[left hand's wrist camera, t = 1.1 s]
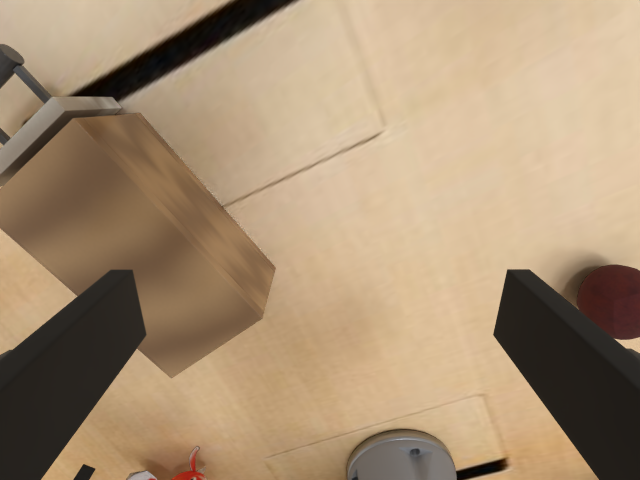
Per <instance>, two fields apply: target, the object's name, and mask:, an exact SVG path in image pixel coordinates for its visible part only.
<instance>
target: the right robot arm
mask: <svg viewBox="0 0 640 480" xmlns="http://www.w3.org/2000/svg"><path fill="white" fill-rule="evenodd" d="M94 471H95V468H92V467H90V466H87V465H84V464H83V466H82V467H81V469H80V470H79V472H78V473H77V475H76V477H75V478H74V480H89V479H90V477H91V476H92V474H93V472H94ZM347 476H348V480H457V478H456V471H455V465H454V463H453V460H452V457H451V455H450V452H449V450H448V449H447V447H446V446H445V445H444V444H443V443H442V442H441V441H440V440H438V439H437V438H435V437H433V436H431V435H429V434H426V433H423V432H419V431H413V430H395V431H389V432H384V433H381V434H378V435H375V436H373V437H371V438H369V439H367V440H366V441H364V442H363V443H362V444H360V445H359V446H358V447H357V448H356V449H355V450H354V452H353V453H352V454H351V456H350V458H349V461H348V465H347Z"/></svg>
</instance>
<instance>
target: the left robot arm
mask: <svg viewBox="0 0 640 480" xmlns="http://www.w3.org/2000/svg"><path fill="white" fill-rule="evenodd" d="M146 335H147V334H146V329H145V325H144V320H143V315H142V311H141V306H140V302H139V297H138V292H137V288H136V283H135V278H134V274H133V270H110V271H108V272H107V273H106V274H105V275H103V276H102V277H101V278H100V279H99V280H97V281H96V282H95V283H94V284H92V285H91V286H90V287H89V288H88V289H86V290H85V291H84V292H83V293H81V294H80V295H79V296H78V297H77V298H75V299H74V300H73V301H72V302H70V303H69V304H68V305H67V306H66V307H64V308H63V309H62V310H61V311H59V312H58V313H57V314H56V315H55V316H53V317H52V318H51V319H50V320H48V321H47V322H46V323H45V324H44V325H42V326H41V327H40V328H39V329H37V330H36V331H35V332H34V333H33V334H31V335H30V336H29V337H28V338H26V339H25V340H24V341H23V342H22V343H20V344H19V345H18V346H17V347H15V348H14V349H13V350H9V351H7V352H5V353H3V354H1V355H0V480H41V479H42V477H43V476H44V475H45V473H46V472H47V471H48V469H49V468H50V466H51V465H52V464H53V462H54V461H55V460H56V458H57V457H58V455H59V454H60V453H61V451H62V450H63V449H64V447H65V446H66V445H67V443H68V442H69V440H70V439H71V438H72V436H73V435H74V434H75V432H76V431H77V430H78V428H79V427H80V425H81V424H82V423H83V421H84V420H85V419H86V417H87V416H88V414H89V413H90V412H91V410H92V409H93V408H94V406H95V405H96V404H97V402H98V401H99V399H100V398H101V397H102V395H103V394H104V393H105V391H106V390H107V389H108V387H109V386H110V384H111V383H112V382H113V380H114V379H115V378H116V376H117V375H118V374H119V372H120V371H121V369H122V368H123V367H124V365H125V364H126V363H127V361H128V360H129V358H130V357H131V356H132V354H133V353H134V352H135V350H136V349H137V348H138V346H139V345H140V343H141V342H142V341H143V339H144V338H145V337H146ZM493 335H494V337H495V338H496V339H497V341H498V342H499V343H500V345H501V346H502V348H503V349H504V350H505V352H506V353H507V354H508V356H509V357H510V358H511V360H512V361H513V363H514V364H515V365H516V367H517V368H518V369H519V371H520V372H521V374H522V375H523V376H524V378H525V379H526V380H527V382H528V383H529V384H530V386H531V387H532V389H533V390H534V391H535V393H536V394H537V395H538V397H539V398H540V399H541V401H542V402H543V404H544V405H545V406H546V408H547V409H548V410H549V412H550V413H551V414H552V416H553V417H554V419H555V420H556V421H557V423H558V424H559V425H560V427H561V428H562V430H563V431H564V432H565V434H566V435H567V436H568V438H569V439H570V440H571V442H572V443H573V445H574V446H575V447H576V449H577V450H578V451H579V453H580V454H581V455H582V457H583V458H584V460H585V461H586V462H587V464H588V465H589V466H590V468H591V469H592V471H593V472H594V473H595V475H596V476H597V477H598V479H599V480H640V353H638V352H636V351H634V350H632V349H626V348H625V347H623V346H622V345H621V344H620V343H618V342H617V341H616V340H615V339H614V338H612V337H611V336H610V335H609V334H607V333H606V332H605V331H604V330H603V329H601V328H600V327H599V326H598V325H596V324H595V323H594V322H593V321H592V320H590V319H589V318H588V317H587V316H585V315H584V314H583V313H582V312H581V311H579V310H578V309H577V308H576V307H574V306H573V305H572V304H571V303H570V302H568V301H567V300H566V299H565V298H563V297H562V296H561V295H560V294H559V293H557V292H556V291H555V290H554V289H552V288H551V287H550V286H549V285H548V284H546V283H545V282H544V281H543V280H541V279H540V278H539V277H538V276H537V275H535V274H534V273H533V272H532V271H530V270H507V274H506V278H505V283H504V288H503V292H502V297H501V301H500V306H499V311H498V315H497V320H496V325H495V329H494V334H493Z"/></svg>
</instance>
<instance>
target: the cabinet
mask: <svg viewBox="0 0 640 480" xmlns="http://www.w3.org/2000/svg"><path fill="white" fill-rule="evenodd" d="M0 228H1V229H2V230H3V231H4V232H5V233H6V234H7V235H9V236H10V237H11V238H12V239H13V240H14V241H15V242H17V243H18V244H19V245H20V246H21V247H22V248H23V249H25V250H26V251H27V252H28V253H29V254H30V255H31V256H33V257H34V258H35V259H36V260H37V261H38V262H39V263H40V264H42V265H43V266H44V267H45V268H46V269H47V270H48V271H50V272H51V273H52V274H53V275H54V276H55V277H56V278H58V279H59V280H60V281H61V282H62V283H63V284H64V285H66V286H67V287H68V288H69V289H70V290H71V291H72V292H74V293H75V294H76V295H77V296H79V295H80V294H81V293H83V292H84V291H85V290H86V289H88V288H89V287H90V286H91V285H92V284H94V283H95V282H96V281H97V280H99V279H100V278H101V277H102V276H103V275H105V274H106V273H107V272H108V271H110V270H133V274H134V278H135V283H136V288H137V292H138V297H139V302H140V306H141V311H142V315H143V320H144V325H145V329H146V334H147V335H146V337H145V338H144V339H143V341H142V342H141V343H140V345H139V346H138V348H137V349H138V350H140V351H141V352H142V353H143V354H144V355H145V356H146V357H148V358H149V359H150V360H151V361H152V362H153V363H154V364H155V365H157V366H158V367H159V368H160V369H161V370H162V371H163V372H165V373H166V374H167V375H168V376H169V377H170V378H173V377H174V376H176V375H177V374H179V373H180V372H182V371H183V370H185V369H186V368H188V367H189V366H191V365H192V364H194V363H195V362H197V361H198V360H200V359H202V358H203V357H205V356H206V355H208V354H209V353H211V352H212V351H214V350H215V349H217V348H218V347H220V346H221V345H223V344H224V343H226V342H227V341H229V340H230V339H232V338H233V337H235V336H236V335H238V334H239V333H241V332H242V331H244V330H246V329H247V328H249V327H250V326H252V325H253V324H255V323H256V322H258V321H259V320H261V319H262V318H263V314H264V310H265V306H266V302H267V298H268V294H269V291H270V287H271V283H272V279H273V276H274V272H275V269H276V268H275V267H274V265H273V264H272V263H271V262H270V261H269V260H268V259H267V257H266V256H265V255H264V254H263V253H262V252H261V251H260V249H259V248H258V247H257V246H256V245H255V244H254V243H253V241H252V240H251V239H250V238H249V237H248V236H247V235H246V233H245V232H244V231H243V230H242V229H241V228H240V227H239V225H238V224H237V223H236V222H235V221H234V220H233V219H232V217H231V216H230V215H229V214H228V213H227V212H226V211H225V209H224V208H223V207H222V206H221V205H220V204H219V203H218V202H217V200H216V199H215V198H214V197H213V196H212V195H211V194H210V192H209V191H208V190H207V189H206V188H205V187H204V186H203V184H202V183H201V182H200V181H199V180H198V179H197V178H196V176H195V175H194V174H193V173H192V172H191V171H190V170H189V168H188V167H187V166H186V165H185V164H184V163H183V162H182V160H181V159H180V158H179V157H178V156H177V155H176V154H175V152H174V151H173V150H172V149H171V148H170V147H169V146H168V144H167V143H166V142H165V141H164V140H163V139H162V138H161V136H160V135H159V134H158V133H157V132H156V131H155V130H154V128H153V127H152V126H151V125H150V124H149V123H148V122H147V120H146V119H145V118H144V117H143V116H142V115H141V114H140V113H135V114H123V115H110V116H98V117H86V118H73V119H72V120H71V121H70V122H69V123H68V124H67V125H66V126H65V127H64V128H63V129H62V130H60V131H59V132H58V133H57V134H56V135H55V136H54V137H53V138H52V139H51V140H50V141H49V142H48V143H47V144H46V145H45V146H44V147H43V148H42V149H41V150H40V151H39V152H38V153H37V154H36V155H35V156H34V157H33V158H32V159H31V160H30V161H28V162H27V163H26V164H25V165H24V166H23V167H22V168H21V169H20V170H19V171H18V172H17V173H16V174H15V175H14V176H13V177H12V178H11V179H10V180H9V181H8V182H7V183H6V184H5V185H4V186H3V187H2V188H1V189H0Z"/></svg>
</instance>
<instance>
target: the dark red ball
mask: <svg viewBox="0 0 640 480" xmlns="http://www.w3.org/2000/svg"><path fill="white" fill-rule="evenodd" d="M577 305H578V308H579V311H581V312H582V313H583V314H584V315H585V316H587V317H588V318H589V319H590V320H592V321H593V322H594V323H595V324H596V325H598V326H599V327H600V328H601V329H603V330H604V331H605V332H606V333H607V334H609V335H610V336H611V337H612V338H615V339H620V340H628V339H634V338H638V337H640V271H639V270H638V269H635V268H631V267H627V266H622V265H607V266H602V267H600V268H598V269H596V270H594V271H593V272H591V273H590V274H589V275H588V276H587V277H586V278H585V280H584V281H583V283H582V284H581V286H580V288H579V292H578V297H577Z"/></svg>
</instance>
